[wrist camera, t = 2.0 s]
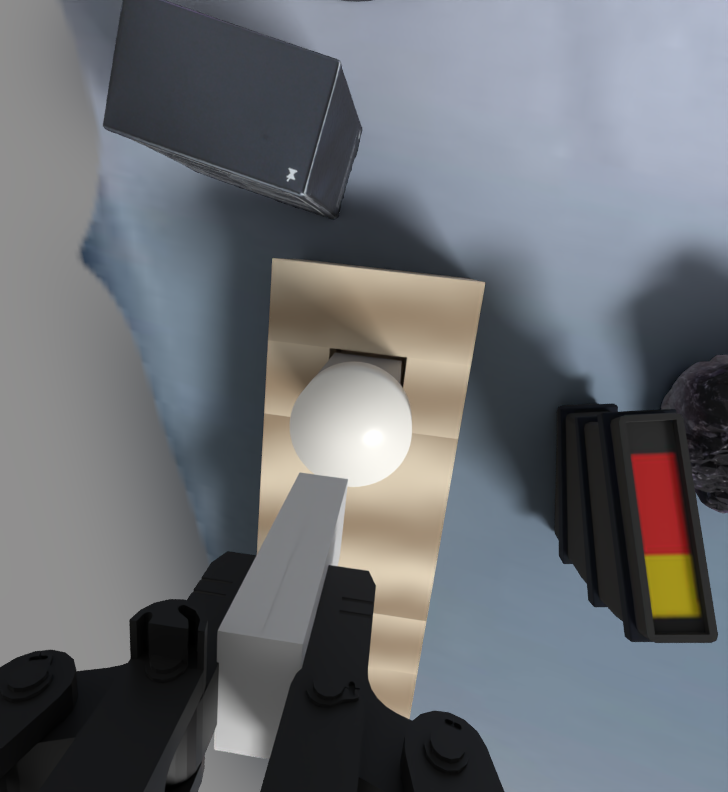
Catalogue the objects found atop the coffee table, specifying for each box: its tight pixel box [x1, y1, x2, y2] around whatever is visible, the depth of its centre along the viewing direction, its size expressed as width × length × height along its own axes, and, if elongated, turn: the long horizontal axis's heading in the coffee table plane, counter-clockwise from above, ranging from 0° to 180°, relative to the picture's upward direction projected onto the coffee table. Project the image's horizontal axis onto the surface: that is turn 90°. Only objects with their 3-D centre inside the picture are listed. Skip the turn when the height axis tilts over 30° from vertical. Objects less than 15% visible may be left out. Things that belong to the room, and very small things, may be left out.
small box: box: [103, 0, 362, 220], centre depth 27 cm, size 11×6×10 cm, turn 72°
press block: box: [257, 258, 485, 719], centre depth 34 cm, size 32×12×7 cm, turn 174°
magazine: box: [555, 404, 718, 643], centre depth 31 cm, size 4×13×15 cm, turn 5°
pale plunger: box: [290, 353, 412, 487], centre depth 25 cm, size 6×6×8 cm
